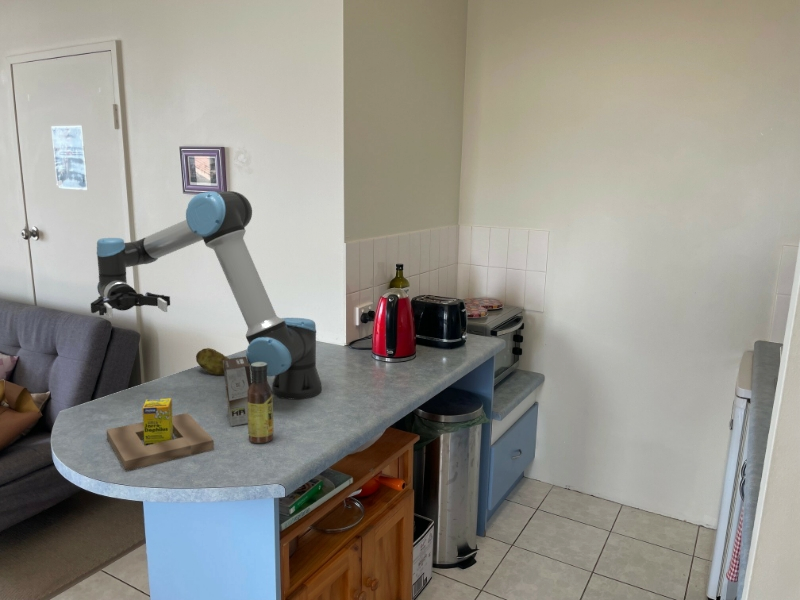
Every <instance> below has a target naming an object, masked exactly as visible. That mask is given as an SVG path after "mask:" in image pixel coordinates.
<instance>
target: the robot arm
mask: <svg viewBox="0 0 800 600" xmlns="http://www.w3.org/2000/svg"><path fill="white" fill-rule="evenodd" d="M248 199H249V198H247V197H246V196H245V195H244V194H241V193H239V192H237V191H232V190H231V191H230V190H229V191H212V190H211V191H209V190H208V191H206V192H200V193H198V194H196V195H194V196H193V197H192V198H191V199H190V200H189V202H188V204H187V207H186V210H185V219H184V220H182V221H179V222H177V223H176V224H175V223H174V224H172V225H171V226H168V227H166V228H164V229H161V230H159V231H157V232H155V233H152V234H150V235H148V236H146V237H143V238H140V239H138V240H135V241H130V242H125V240H124V239H123V238H120V237H104V238H99V239H98V240H97V242H96V258H97V267H98V283H97V285H96V286H97V287H96V289H97V293H98V294H99V296H98V298H97V299H96V300H94V301H92V302H91V303H90V312H91V313H92V314H95V313H98V315H99V316H104V315H106V316H107V317H108V318H109V319H112V318H114V316H113V315H114V313H113V309H115V310H117V311H123V312H124V311H128V310H130V309H132V308H133V307H143V306H152V307H157V308H158V309H160V310H161V311H162V312H164V313H167V312H168V306H171V296H169V295H164V294H158V293H157V294H156V293H151V292H145V294H143V293H137V291H136V290H135V289H134V288H133V287H132V286H130V285H129V283H128V282H127V268H130V267H134V266H142V265H148V264H151V263H154V262H157V260H158V259H159V258H161V257H165V256H166V255H169V254H171V253H174V252H176V251H179V250H181V249H184V248H186V247H189V246H191V245H194V244H196V243H199V242H201V241H203V242H204V244H205V247H207V248H209V249H212V251H214V254H215V255H216V258H217V259H218V260H217V261H218V262H219V266H220V268H221V269H222V272H223V274H224V275H225V279H226V281H227V283H228V285H229V287H230V290H231V292H232V295H233V297H234V299H235V301H236V303H237V305H238V308H239V310H240V313H241V314H242V317H243V319H244V322H245V325H246V327H247V330H246V334H245V339H246V340H247V343H248V346H247V351H246V354H245V355H246V356H245V357H246V359H247V361H248V363H249V365H250V367H251V364H252V363H255V362H265V363H267V377H274V378H273V380H272V381H273V382H272V385H271V391H272V393H273V395H274V396H275V397H278V398H281V399H286V400H287V399H288V400H303V399H309V398H312V397H315V396H317V395H319V394H320V393H321V392H322V380H321V378H320V375H319V373H318V369H317V364H316V360H317V358H316V357H317V354H316V353H317V352H316V351H317V326H316V323H315V321H314V320H313V319H309V318H301V317H279V316H277V314H276V311H275V309H274V307H273V304H272V302H271V300H270V297H269V295H268V293H267V291H266V289H265V285H264V284H263V281H262V279H261V277H260V275H259V272H258V269H257V267H256V265H255V263H254V260H253V258H252V256H251V253H250V252H249V249H248V246H247V245H246V242H245V239H244V237H245V235H246V227H247V226H248V225H249V223H250V222H251V220H252V217H253V208H252V205H251V202H250V201H249V200H248Z"/></svg>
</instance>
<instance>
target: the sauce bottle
mask: <svg viewBox="0 0 800 600" xmlns="http://www.w3.org/2000/svg"><path fill="white" fill-rule="evenodd" d="M250 372H251V385H250V387H249V389H248V393H247V394H248V401H247V407H248V423H247V428H248V430H247V432H248V440H249V441H250V443H253V444H265V443H268V442H270V441H271V440H273V437H274V404H273V403H274V401H273V399H274V397H273V395H274V394H273V393H272V387H271V386H270V383H269V380H268V376H267V363H265V362H255V363H252V364H251V366H250Z"/></svg>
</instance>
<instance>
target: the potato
mask: <svg viewBox="0 0 800 600" xmlns="http://www.w3.org/2000/svg"><path fill="white" fill-rule="evenodd" d="M226 359H230V358H229V357H227V356H225V355H224V354H223V353H221V352H219V351H217V350H216V349H213V348H210V347H207V348H202V349H201V350H198V351H197V353H196V356H195V360H196V363H197V364H198V365H199V366H200V368H202V369H203V370H205V371H206V372H208V373H209V374H211V375H216V376H225V375H224V365H223V360H226Z"/></svg>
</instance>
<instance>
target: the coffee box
mask: <svg viewBox="0 0 800 600" xmlns="http://www.w3.org/2000/svg"><path fill="white" fill-rule="evenodd" d="M223 365H224V375H223V376H224V383H225V394H226V404H227V411H228V412H227V415H228V418H229V421H230V422H229V423H230V425H231V427H234V426H239V425H246V424H248V407H247V401H248V394H247V393H248V389H249V387H250V385H251V383H252V372H251V366H250V364H249V363H248V360H247V356H239V357H233V358H229V359H226V360H223Z"/></svg>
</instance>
